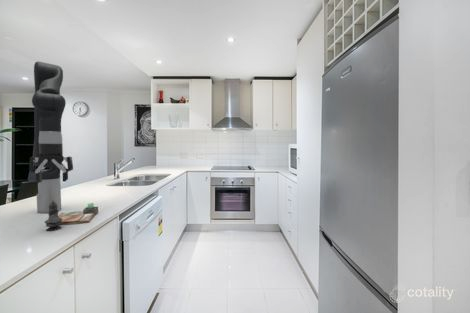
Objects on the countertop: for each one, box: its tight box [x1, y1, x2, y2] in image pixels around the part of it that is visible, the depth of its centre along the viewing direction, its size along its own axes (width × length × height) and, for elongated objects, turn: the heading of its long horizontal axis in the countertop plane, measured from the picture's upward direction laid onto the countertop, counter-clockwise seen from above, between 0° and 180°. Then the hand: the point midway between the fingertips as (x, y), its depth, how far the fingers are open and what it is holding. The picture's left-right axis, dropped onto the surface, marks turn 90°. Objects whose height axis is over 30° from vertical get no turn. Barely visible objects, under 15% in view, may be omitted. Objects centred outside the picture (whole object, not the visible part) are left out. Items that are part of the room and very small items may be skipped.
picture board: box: [58, 206, 99, 226], centre depth 111 cm, size 16×18×3 cm
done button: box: [87, 203, 95, 209], centre depth 117 cm, size 3×3×3 cm
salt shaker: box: [44, 201, 63, 232], centre depth 97 cm, size 6×6×12 cm
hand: (52, 181), depth 96 cm, fingers open, 8 cm apart
